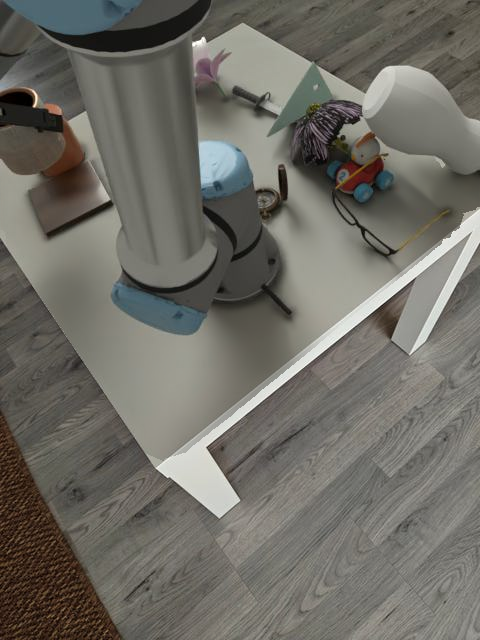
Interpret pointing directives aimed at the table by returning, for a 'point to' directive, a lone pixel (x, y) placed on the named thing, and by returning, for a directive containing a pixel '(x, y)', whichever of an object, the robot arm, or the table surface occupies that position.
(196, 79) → the lily
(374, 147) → the toy car
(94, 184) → the brown wooden square plate
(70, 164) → the copper solid cylinder
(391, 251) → the eyeglasses
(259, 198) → the compass
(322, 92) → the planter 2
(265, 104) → the knife
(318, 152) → the decorative flower
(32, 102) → the planter
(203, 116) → the table surface
